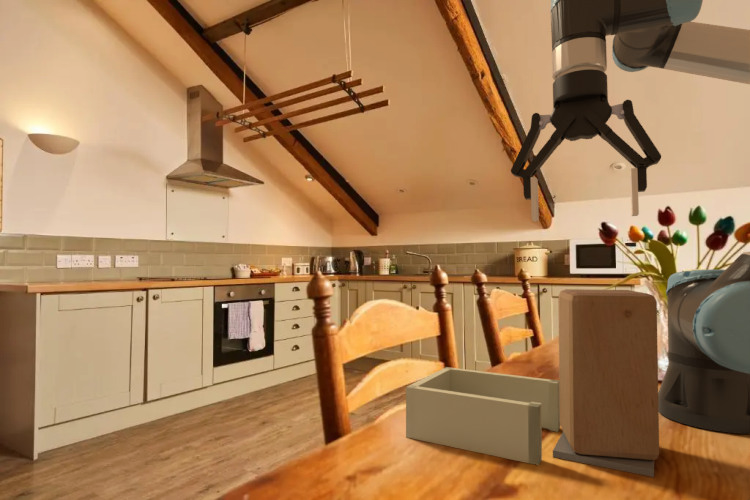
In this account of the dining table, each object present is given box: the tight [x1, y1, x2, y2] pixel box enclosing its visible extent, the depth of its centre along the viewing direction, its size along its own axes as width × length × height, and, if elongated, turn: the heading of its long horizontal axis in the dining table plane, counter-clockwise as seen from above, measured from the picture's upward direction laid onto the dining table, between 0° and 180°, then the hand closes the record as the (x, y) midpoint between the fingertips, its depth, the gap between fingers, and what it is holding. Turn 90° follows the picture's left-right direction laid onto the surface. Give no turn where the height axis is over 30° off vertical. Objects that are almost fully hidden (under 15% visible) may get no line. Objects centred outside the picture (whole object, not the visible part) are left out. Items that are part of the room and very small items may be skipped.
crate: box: [405, 366, 561, 466], centre depth 68 cm, size 18×15×7 cm
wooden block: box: [558, 288, 660, 461], centre depth 62 cm, size 10×10×20 cm
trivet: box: [552, 431, 655, 478], centre depth 61 cm, size 11×11×1 cm
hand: (583, 218), depth 70 cm, fingers open, 13 cm apart
